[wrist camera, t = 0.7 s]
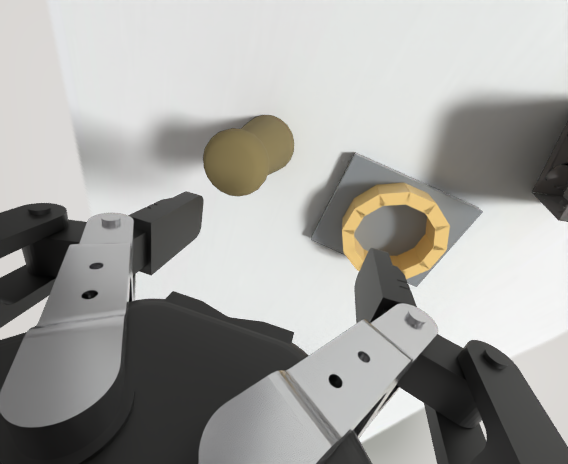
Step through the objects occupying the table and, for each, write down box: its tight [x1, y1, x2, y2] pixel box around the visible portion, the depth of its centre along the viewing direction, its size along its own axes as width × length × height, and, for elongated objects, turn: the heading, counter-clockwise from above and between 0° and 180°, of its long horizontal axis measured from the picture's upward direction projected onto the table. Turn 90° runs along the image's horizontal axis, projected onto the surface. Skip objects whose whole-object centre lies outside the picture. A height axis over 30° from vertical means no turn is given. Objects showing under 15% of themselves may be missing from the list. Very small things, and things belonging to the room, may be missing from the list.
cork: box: [203, 115, 294, 196], centre depth 24 cm, size 6×6×11 cm
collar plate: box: [311, 153, 483, 287], centre depth 28 cm, size 11×14×4 cm
